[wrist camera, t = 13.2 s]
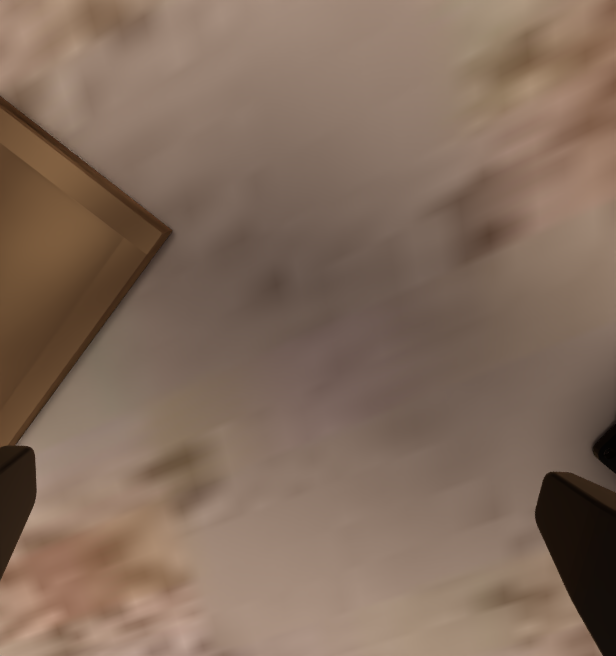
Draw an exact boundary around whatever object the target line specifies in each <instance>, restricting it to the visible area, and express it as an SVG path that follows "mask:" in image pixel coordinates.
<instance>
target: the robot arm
mask: <svg viewBox="0 0 616 656" xmlns="http://www.w3.org/2000/svg"><path fill="white" fill-rule="evenodd" d="M608 448H610V451H609V452H608V453H607V454H604V452H605V450H607V449H608ZM593 453H594V455H595V456H596V458H598V459H599V460H600V461H601V462H602V463H603V464H605V465H606V466H607V467H608V468H609V469H611V470H612V471H613V472H614V473H615V474H616V425H615V426H613V427H612V428H611V429H610V430H609V431H608V432H607V433H606V434H605V435H604V436H603V437H602V438H601V439H600V440H599V441H598V442H597V443H596V444H595V446H594V448H593ZM36 492H37V489H36V466H35V454H34V450H33V449H32V448H31V447H28V446H13V445H7V446H2V447H0V580H1V578H2V576H3V573H4V571H5V569H6V567H7V564H8V562H9V560H10V558H11V556H12V553H13V551H14V549H15V547H16V544H17V542H18V540H19V538H20V535H21V533H22V531H23V529H24V526H25V524H26V522H27V520H28V517H29V515H30V513H31V511H32V508H33V506H34V503H35V499H36ZM535 519H536V523H537V526H538V528H539V530H540V533H541V535H542V537H543V539H544V541H545V544H546V546H547V548H548V550H549V552H550V555H551V557H552V559H553V561H554V563H555V566H556V568H557V570H558V572H559V574H560V577H561V579H562V581H563V583H564V585H565V588H566V590H567V592H568V594H569V596H570V598H571V600H572V602H573V604H574V606H575V607H576V609H577V611H578V613H579V615H580V617H581V618H582V620H583V622H584V624H585V625H586V627H587V629H588V631H589V632H590V634H591V636H592V638H593V639H594V641H595V643H596V645H597V646H598V648H599V650H600V652H601V653H602V655H603V656H616V493H615V492H613V491H611V490H609V489H606V488H604V487H602V486H600V485H597V484H595V483H593V482H591V481H588V480H586V479H584V478H582V477H579V476H577V475H575V474H572V473H569V472H549V473H547V474H546V475H545V477H544V479H543V482H542V486H541V490H540V494H539V497H538V501H537V505H536V509H535Z"/></svg>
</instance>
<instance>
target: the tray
mask: <svg viewBox="0 0 616 656" xmlns="http://www.w3.org/2000/svg"><path fill="white" fill-rule="evenodd" d="M171 232H172V230H171V229H170V228H169V227H167V226H166V225H165V224H163V223H162V222H161V221H160V220H158V219H157V218H156V217H154V216H153V215H152V214H151V213H149V212H148V211H147V210H145V209H144V208H143V207H142V206H140V205H139V204H138V203H136V202H135V201H134V200H133V199H131V198H130V197H129V196H128V195H126V194H125V193H124V192H122V191H121V190H120V189H119V188H117V187H116V186H115V185H113V184H112V183H111V182H110V181H108V180H107V179H106V178H104V177H103V176H102V175H101V174H99V173H98V172H97V171H95V170H94V169H93V168H92V167H90V166H89V165H88V164H87V163H85V162H84V161H83V160H81V159H80V158H79V157H78V156H76V155H75V154H74V153H72V152H71V151H70V150H69V149H67V148H66V147H65V146H63V145H62V144H61V143H60V142H58V141H57V140H56V139H54V138H53V137H52V136H51V135H49V134H48V133H47V132H46V131H44V130H43V129H42V128H40V127H39V126H38V125H37V124H35V123H34V122H33V121H31V120H30V119H29V118H28V117H26V116H25V115H24V114H22V113H21V112H20V111H19V110H17V109H16V108H15V107H13V106H12V105H11V104H10V103H8V102H7V101H6V100H4V99H3V98H2V97H1V96H0V447H2V446H7V445H13V446H15V445H16V443H17V442H18V441H19V439H20V438H21V437H22V435H23V434H24V432H25V431H26V430H27V428H28V427H29V426H30V424H31V423H32V422H33V420H34V419H35V417H36V416H37V415H38V413H39V412H40V411H41V409H42V408H43V407H44V405H45V404H46V402H47V401H48V400H49V398H50V397H51V396H52V394H53V393H54V392H55V390H56V389H57V387H58V386H59V385H60V383H61V382H62V381H63V379H64V378H65V377H66V375H67V374H68V372H69V371H70V370H71V368H72V367H73V366H74V364H75V363H76V362H77V360H78V359H79V357H80V356H81V355H82V353H83V352H84V351H85V349H86V348H87V347H88V345H89V344H90V342H91V341H92V340H93V338H94V337H95V336H96V334H97V333H98V332H99V330H100V329H101V327H102V326H103V325H104V323H105V322H106V321H107V319H108V318H109V317H110V315H111V314H112V312H113V311H114V310H115V308H116V307H117V306H118V304H119V303H120V302H121V300H122V299H123V297H124V296H125V295H126V293H127V292H128V291H129V289H130V288H131V287H132V285H133V284H134V283H135V281H136V280H137V278H138V277H139V276H140V274H141V273H142V272H143V270H144V269H145V268H146V266H147V265H148V263H149V262H150V261H151V259H152V258H153V257H154V255H155V254H156V253H157V251H158V250H159V248H160V247H161V246H162V244H163V243H164V242H165V240H166V239H167V238H168V236H169V235H170V233H171Z"/></svg>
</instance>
